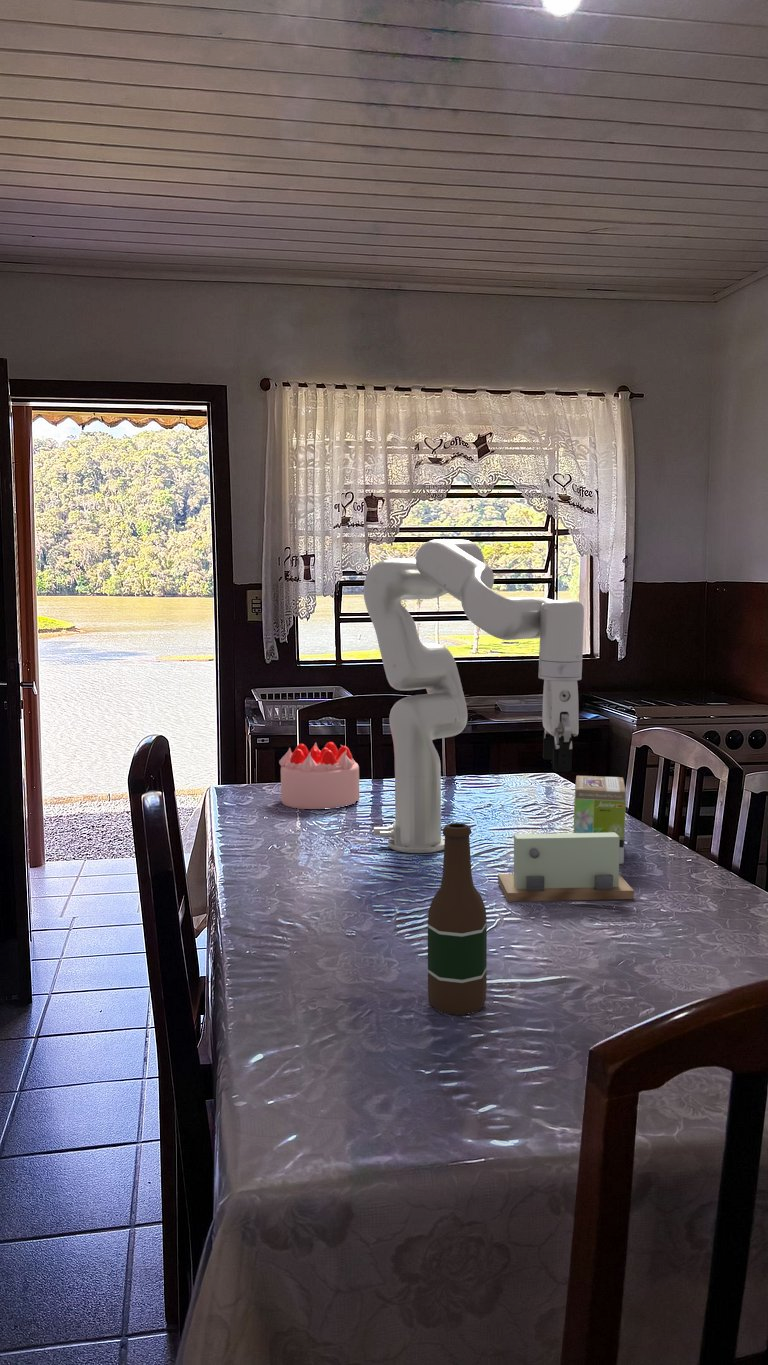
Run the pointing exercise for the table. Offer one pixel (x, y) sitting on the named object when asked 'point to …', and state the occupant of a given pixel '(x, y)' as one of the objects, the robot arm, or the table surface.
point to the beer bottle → (457, 932)
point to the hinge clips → (538, 883)
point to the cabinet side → (562, 892)
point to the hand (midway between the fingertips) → (556, 765)
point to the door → (566, 858)
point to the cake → (319, 777)
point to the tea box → (600, 807)
